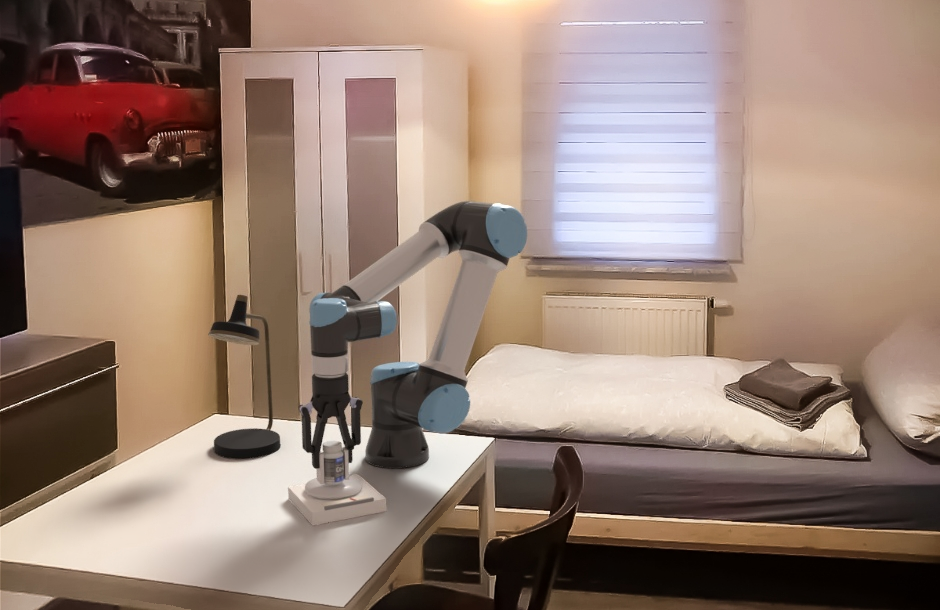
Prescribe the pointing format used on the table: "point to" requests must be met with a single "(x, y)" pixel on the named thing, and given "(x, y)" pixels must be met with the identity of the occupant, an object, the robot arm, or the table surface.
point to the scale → (336, 500)
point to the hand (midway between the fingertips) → (332, 479)
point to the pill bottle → (333, 462)
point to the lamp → (266, 440)
